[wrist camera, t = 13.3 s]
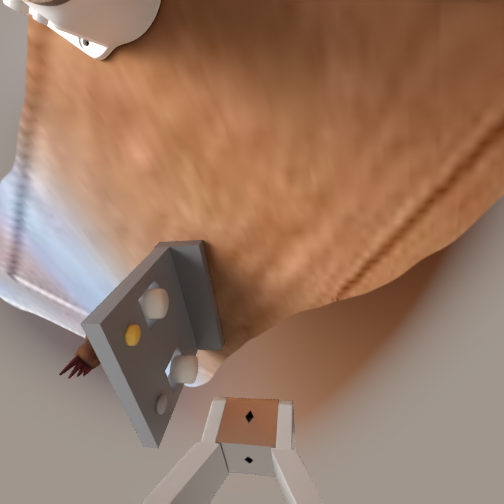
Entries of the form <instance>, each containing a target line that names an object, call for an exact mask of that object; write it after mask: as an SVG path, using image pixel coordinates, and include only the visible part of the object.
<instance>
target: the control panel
mask: <svg viewBox="0 0 504 504" xmlns="http://www.w3.org/2000/svg"><path fill="white" fill-rule="evenodd" d="M161 288H163V289H165V290H166V292H167V294H168V299H169V305H168V310H167V313H166V315H165V316H164V317H163V318H161V319H145V316H144V313H143V311H142V308H141V305H140V303H139V299H140V297H141V296H142V295H143V294H144V292H145V291H146V290H147V289H161ZM81 326H82V328H83V330H84V331H85V333H86V335H87V337H88V339H89V341H90V343H91V345H92V347H93V349H94V351H95V353H96V355H97V357H98V359H99V361H100V363H101V365H102V367H103V368H104V371H105V372H106V374H107V376H108V378H109V380H110V382H111V384H112V386H113V388H114V390H115V392H116V394H117V396H118V398H119V400H120V402H121V404H122V405H123V407H124V409H125V411H126V413H127V415H128V417H129V419H130V421H131V423H132V425H133V427H134V429H135V431H136V433H137V435H138V437H139V439H140V440H141V443H142V444H143V447H152V448H159V445H160V443H161V440H162V438H163V435H164V433H165V430H166V428H167V425H168V423H169V420H170V418H171V415H172V413H173V410H174V408H175V405H176V403H177V400H178V398H179V395H180V393H181V390H182V388H183V385H184V383H173V382H172V381H171V379H170V374H169V376H168V378H167V375H166V373H165V370H166V368H167V366H168V364H169V362H170V360H171V362H172V360H173V358H174V357H175V356H176V355H191V356H196V353H197V351H198V350H223V347H224V343H225V342H224V338H223V333H222V328H221V324H220V319H219V315H218V310H217V305H216V301H215V296H214V291H213V287H212V282H211V278H210V273H209V268H208V264H207V259H206V254H205V250H204V245H203V241H202V240H196V241H175V242H159V243H158V244H157V245H156V246H155V249H154V250H153V251H152V252H151V253H150V254H149V255H148V256H147V257H146V258H145V259H144V260H143V261H142V262H141V263H140V264H139V265H138V266H137V267H136V268H135V269H134V270H133V271H132V272H131V273H130V274H129V275H128V276H127V277H126V278H125V279H124V280H123V281H122V282H121V283H120V284H119V285H118V286H117V287H116V288H115V289H114V290H113V291H112V292H111V293H110V294H109V296H108V297H107V298H106V299H105V300H104V301H103V302H102V303H101V304H100V305H99V306H98V307H97V308H96V309H95V310H94V311H93V312H92V313H91V314H90V315H89V316H88V317H87V318H86V319H85V320H84V321H83V322H82V323H81Z"/></svg>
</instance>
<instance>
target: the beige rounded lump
mask: <svg viewBox="0 0 504 504" xmlns="http://www.w3.org/2000/svg"><path fill="white" fill-rule="evenodd" d="M139 303H140V305H141V308H142V311H143V313H144V316H145V319H161V318H163V317H164V316H165V315H166V313H167V310H168V305H169V299H168V294H167V292H166V290H165V289H163V288H161V289H147V290H146V291H145V292H144V294H143V295H142V296H141V297H140V299H139Z"/></svg>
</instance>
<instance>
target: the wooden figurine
mask: <svg viewBox="0 0 504 504" xmlns="http://www.w3.org/2000/svg"><path fill="white" fill-rule="evenodd" d="M75 365H76V366H75ZM99 365H100V361H99V359H98V357H97V355H96V353H95V351H94V349H93V347H92V345H91V343H90V341H89V339H88V337H87V335H86V343H84V344H83V345H81V346H80V347H79V349H78V350H77V352H76V354H75V357H74V359H72V361H71V362H70V363H69V364H68V365H67V366H66V367H65V368H64V369H63V370H62V372H61V373H60V374H59V375H62V374H63V373H65V372H66V371H68V370H69V369H70V368H72V367H73V366H75V367H74V369H73V370H72V372H71V374H70V376H69V377H68V378H71V377H72V376H73V375H74V374H75V373H76V372H77V371H78V370H79V369H80V370H79V373H78V374H77V377H78V376H80V375H81V374H82V373H83V372H84V373H83V376H85V375H86V374H87V373H88V372H90V371H91V370H92V369H94V368H96V367H97V366H99Z"/></svg>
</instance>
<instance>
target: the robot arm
mask: <svg viewBox="0 0 504 504" xmlns="http://www.w3.org/2000/svg"><path fill="white" fill-rule="evenodd" d="M3 2H4V4H6V5H7V6H9V7H10V8H12V9H14V10H16V11H18V12H20V13H22V14H24V15H28V14H29V13H30V14H31V15H32V17H33V19H35V20H36V21H38V22H40V23H41V24H44V25H46V26H48V27H49V28H51V29H52V30H54V31H55V32H56V33H58V34H59V35H61V36H62V37H63V38H65V39H66V40H68V41H69V42H70V43H72V44H73V45H75V46H76V47H77V48H79V49H80V50H82V51H83V52H84V53H86V54H87V55H89V56H90V57H92V58H94V59H96V60H103V59H105V58H106V57H107V56H108V55H109V54H110V53H111V52H112V51H113V50H114V48H116V47H117V46H120V45H122V44H126V43H129V42H131V41H134V40H136V39H137V38H139V37H140V36H141V35H143V34H144V33H145V32H146V30H147V29H148V28H149V27H150V25H151V24H152V22H153V21H154V19H155V17H156V14H157V12H158V9H159V6H160V2H161V0H3ZM86 41H89V45H88V46H87V43H86ZM228 472H231V473H244V474H255V475H263V476H271V477H276V481H277V483H278V486H279V488H280V491H281V493H282V496H283V498H284V501H285V503H286V504H325V503H324V501H323V499H322V497H321V495H320V493H319V492H318V490H317V488H316V486H315V484H314V482H313V480H312V478H311V476H310V474H309V472H308V471H307V469H306V467H305V465H304V463H303V461H302V459H301V458H300V456H299V454H298V452H297V450H295V423H294V408H293V401H292V400H278V399H277V400H276V399H246V398H229V397H214V399H213V401H212V404H211V408H210V412H209V415H208V419H207V422H206V426H205V429H204V433H203V436H202V440H201V442H196V443H195V444H194V446H193V447H192V448H191V449H190V450H189V451H188V452H187V453H186V454H185V455H184V457H183V458H182V459H181V460H180V461H179V462H178V463H177V464H176V466H175V467H174V468H173V469H172V470H171V471H170V472H169V473H168V474H167V475H166V477H165V478H164V479H163V480H162V481H161V482H160V483H159V484H158V485H157V487H155V489H154V490H153V491H152V492H151V493H150V494H149V495H148V496H147V497H146V499H145V500H144V501H143V503H142V504H210V502H211V501H212V499H213V498H214V496H215V494H216V493H217V491H218V490H219V488H220V487H221V485H222V484H223V482H224V480H225V479H226V478H227V476H228V475H229V473H228Z"/></svg>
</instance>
